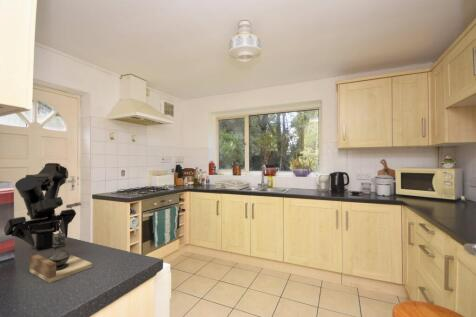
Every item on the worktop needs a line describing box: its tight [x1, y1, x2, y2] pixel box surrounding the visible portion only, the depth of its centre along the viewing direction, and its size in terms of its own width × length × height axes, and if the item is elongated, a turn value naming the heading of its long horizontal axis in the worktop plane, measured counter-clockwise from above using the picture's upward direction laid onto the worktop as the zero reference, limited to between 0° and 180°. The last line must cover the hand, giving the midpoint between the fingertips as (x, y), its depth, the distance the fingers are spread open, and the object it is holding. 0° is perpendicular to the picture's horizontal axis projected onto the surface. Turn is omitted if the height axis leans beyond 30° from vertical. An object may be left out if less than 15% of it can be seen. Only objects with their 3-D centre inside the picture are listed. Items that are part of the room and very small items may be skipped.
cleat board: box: [28, 253, 94, 284], centre depth 75 cm, size 14×12×5 cm
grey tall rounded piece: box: [47, 230, 71, 271], centre depth 74 cm, size 6×6×12 cm
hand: (50, 240), depth 77 cm, fingers open, 9 cm apart
